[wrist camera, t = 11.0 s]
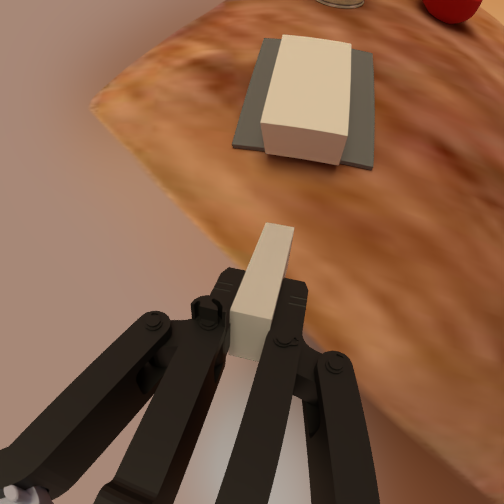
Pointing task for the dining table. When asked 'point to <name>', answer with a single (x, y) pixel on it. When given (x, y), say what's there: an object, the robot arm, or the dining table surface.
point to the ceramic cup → (452, 9)
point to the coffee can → (342, 3)
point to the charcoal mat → (360, 109)
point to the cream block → (308, 100)
